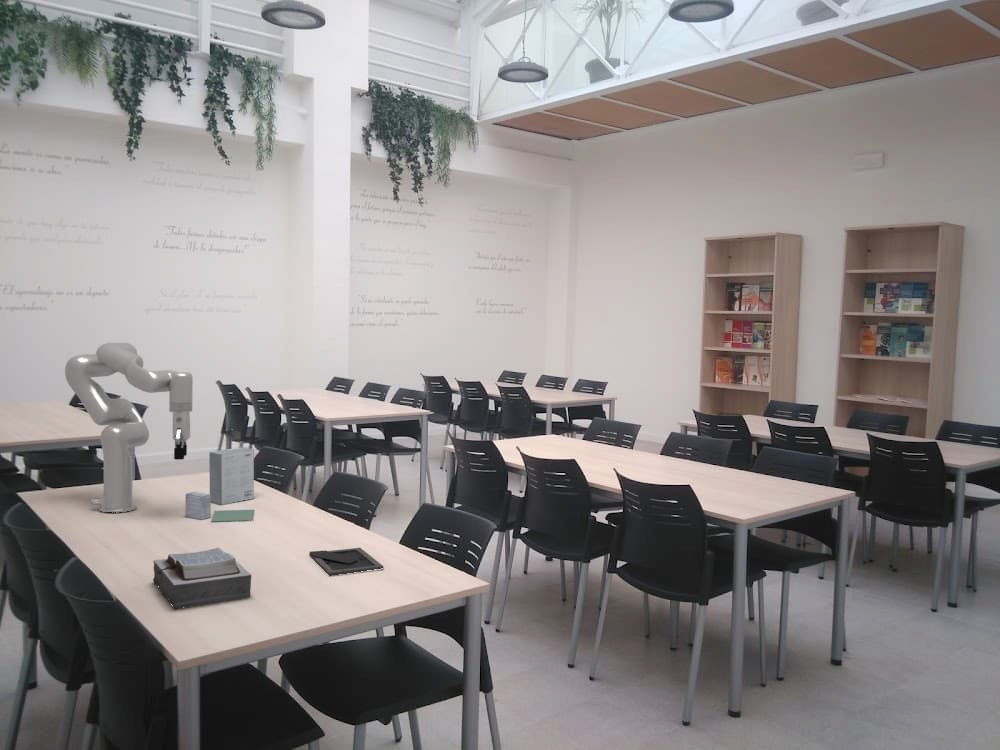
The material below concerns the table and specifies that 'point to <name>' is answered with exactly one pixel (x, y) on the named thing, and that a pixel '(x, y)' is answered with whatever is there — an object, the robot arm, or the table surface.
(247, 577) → the book on foam base
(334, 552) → the picture frame
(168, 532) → the table surface
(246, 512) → the felt pad
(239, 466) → the hard drive box
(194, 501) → the medicine box
